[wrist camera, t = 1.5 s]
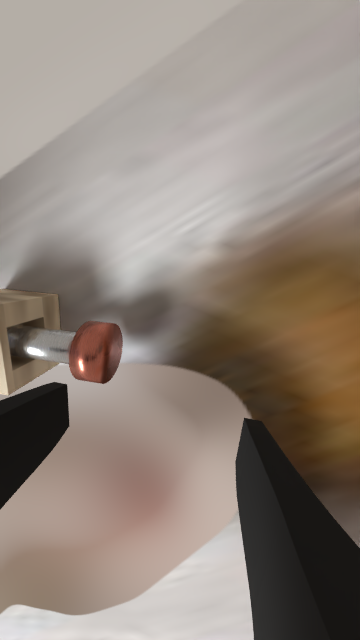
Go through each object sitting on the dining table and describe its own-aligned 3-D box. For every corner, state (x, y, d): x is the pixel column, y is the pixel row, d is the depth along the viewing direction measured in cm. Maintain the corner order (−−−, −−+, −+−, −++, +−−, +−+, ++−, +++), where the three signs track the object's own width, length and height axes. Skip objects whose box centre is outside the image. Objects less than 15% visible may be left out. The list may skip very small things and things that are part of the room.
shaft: (27, 352, 18) (-25, 376, 14) (21, 306, 17) (-36, 317, 13) (122, 366, 17) (95, 396, 13) (122, 317, 16) (93, 333, 12)
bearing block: (13, 354, 19) (-56, 383, 14) (4, 288, 18) (-77, 297, 13) (62, 361, 19) (8, 395, 14) (58, 294, 17) (-5, 305, 12)
